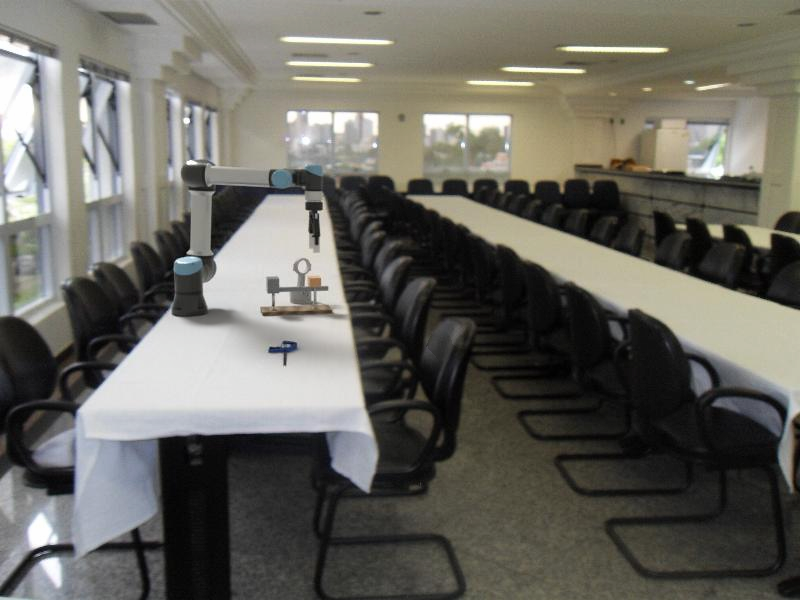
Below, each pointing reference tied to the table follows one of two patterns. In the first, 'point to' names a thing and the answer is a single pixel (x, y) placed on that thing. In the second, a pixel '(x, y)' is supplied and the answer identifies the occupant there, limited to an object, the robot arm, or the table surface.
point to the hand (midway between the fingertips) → (314, 250)
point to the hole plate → (295, 310)
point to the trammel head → (314, 284)
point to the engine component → (301, 284)
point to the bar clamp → (284, 349)
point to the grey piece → (286, 288)
